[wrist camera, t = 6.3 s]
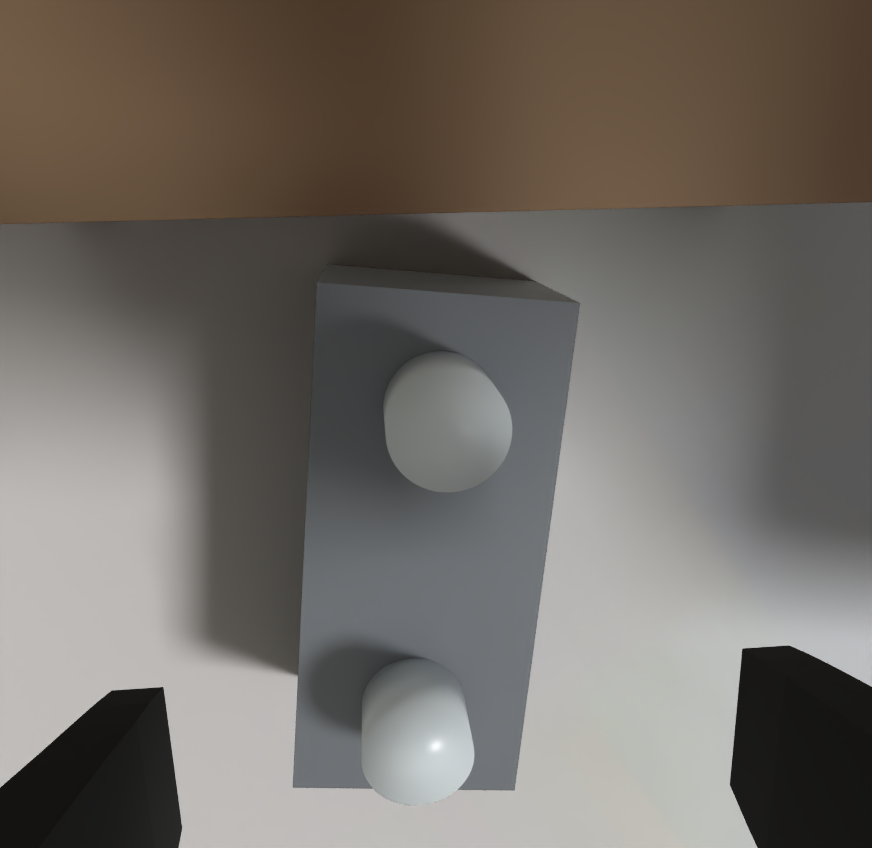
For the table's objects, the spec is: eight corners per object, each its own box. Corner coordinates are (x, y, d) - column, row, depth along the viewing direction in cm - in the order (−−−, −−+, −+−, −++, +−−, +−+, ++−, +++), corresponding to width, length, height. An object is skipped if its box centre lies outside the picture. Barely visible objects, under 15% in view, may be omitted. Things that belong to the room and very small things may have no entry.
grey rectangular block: (533, 280, 18) (606, 316, 12) (486, 678, 20) (530, 851, 15) (327, 263, 17) (310, 292, 12) (307, 672, 20) (285, 850, 14)
